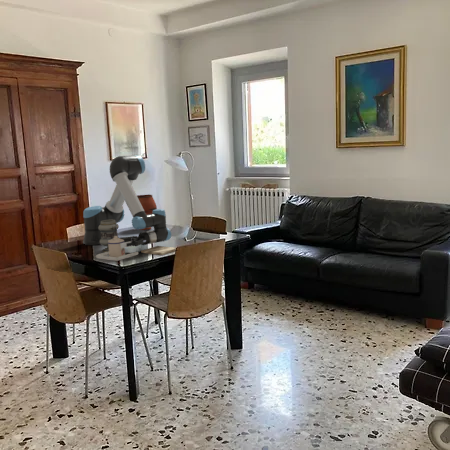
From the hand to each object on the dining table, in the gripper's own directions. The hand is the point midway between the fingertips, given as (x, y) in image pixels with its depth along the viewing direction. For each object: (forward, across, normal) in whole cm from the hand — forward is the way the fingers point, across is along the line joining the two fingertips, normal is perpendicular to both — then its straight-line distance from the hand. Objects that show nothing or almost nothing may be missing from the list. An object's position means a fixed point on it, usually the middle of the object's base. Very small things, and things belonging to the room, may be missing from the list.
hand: (114, 244), depth 270 cm
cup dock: (0, +3, -7) cm, 8 cm away
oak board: (-24, -9, -7) cm, 26 cm away
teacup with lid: (-1, 0, -7) cm, 7 cm away
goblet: (-61, +65, -7) cm, 90 cm away
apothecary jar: (-7, +18, -7) cm, 21 cm away
